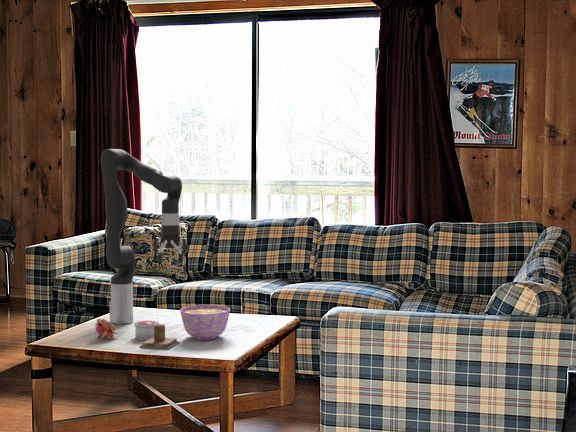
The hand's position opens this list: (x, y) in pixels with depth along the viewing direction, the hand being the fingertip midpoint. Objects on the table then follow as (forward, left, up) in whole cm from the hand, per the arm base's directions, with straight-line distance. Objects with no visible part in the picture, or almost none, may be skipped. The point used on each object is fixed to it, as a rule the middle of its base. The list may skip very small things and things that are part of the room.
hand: (170, 262), depth 349 cm
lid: (+6, -28, -28) cm, 40 cm away
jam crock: (-4, -17, -28) cm, 33 cm away
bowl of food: (+19, -12, -28) cm, 36 cm away
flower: (-19, -22, -28) cm, 41 cm away
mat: (+6, -28, -28) cm, 40 cm away
